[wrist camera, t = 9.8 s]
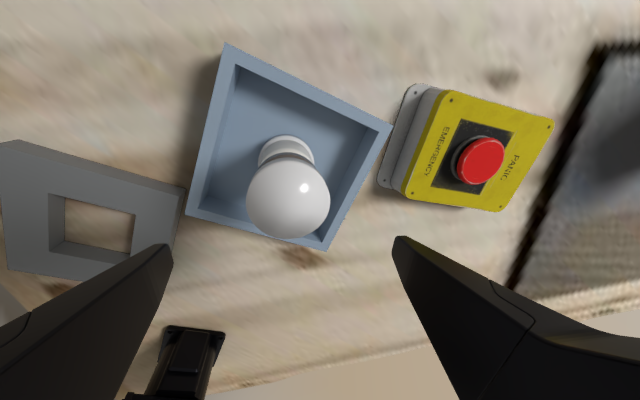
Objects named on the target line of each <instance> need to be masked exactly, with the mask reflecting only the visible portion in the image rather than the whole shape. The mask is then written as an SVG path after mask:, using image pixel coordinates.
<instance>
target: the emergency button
mask: <svg viewBox="0 0 640 400" xmlns="http://www.w3.org/2000/svg"><path fill="white" fill-rule="evenodd" d="M554 128H555V122H554V121H553V120H552V119H550V118H546V117H543V116H539V115H536V114H533V113H529V112H526V111H522V110H519V109H516V108H512V107H509V106H505V105H502V104H499V103H495V102H492V101H488V100H485V99H481V98H478V97H475V96H471V95H468V94H464V93H461V92H458V91H454V90H445V89H440V88H437V87H433V86H430V85H426V84H414V85H412V86H411V87H409V89H408V90H407V92H406V94H405V97H404V100H403V103H402V106H401V109H400V112H399V114H398V117H397V120H396V123H395V126H394V129H393V132H392V135H391V138H390V141H389V143H388V146H387V149H386V152H385V155H384V158H383V161H382V164H381V167H380V170H379V173H378V175H377V182H378V184H379V185H380V186H382V187H384V188H388V189H395V190H397V191H398V192H400V193H401V194H402V195H404V196H406V197H407V198H409V199H413V200H420V201H426V202H433V203H439V204H446V205H452V206H458V207H465V208H471V209H478V210H484V211H491V212H500V211H501V210H503V209H504V208H505V207H506V206H507V204H508V203H509V201H510V199H511V198H512V196H513V195H514V193H515V191H516V190H517V188H518V187H519V185H520V183H521V182H522V180H523V179H524V177H525V175H526V174H527V172H528V171H529V169H530V167H531V166H532V164H533V163H534V161H535V159H536V158H537V156H538V155H539V153H540V151H541V150H542V148H543V147H544V145H545V143H546V142H547V140H548V139H549V137H550V135H551V134H552V132H553V130H554Z"/></svg>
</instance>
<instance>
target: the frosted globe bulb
mask: <svg viewBox="0 0 640 400" xmlns="http://www.w3.org/2000/svg"><path fill="white" fill-rule="evenodd" d="M329 208H330V194H329V190H328V188H327V185H326V183H325V181H324V179H323V177H322V175H321V174H320V172H319V171H318V170H317V169H316V167H315V166H314V158H313V155H312V152H311V150H310V148H309V146H308V145H307V144H306V143H305V142H304V141H303V140H302V139H301V138H299V137H297V136H294V135H290V134H280V135H277V136H274V137H272V138H271V139H269V140H268V141H267V142H266V143H265V144H264V145H263V147H262V149H261V152H260V155H259V158H258V170H257V172H256V173H255V174H254V176H253V178H252V180H251V182H250V185H249V188H248V192H247V195H246V209H247V213H248V216H249V218H250V219H251V221H252V222H253V224H254V225H255V226H256V227H257V228H258V229H259V230H261V231H262V232H264V233H265V234H267V235H269V236H272V237H275V238H280V239H295V238H300V237H303V236H306V235H308V234H310V233H311V232H313V231H315V230H316V229H317V228H318V227H319V226H320V225H321V224H322V223H323V222H324V220H325V218H326V217H327V215H328V212H329Z"/></svg>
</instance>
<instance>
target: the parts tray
mask: <svg viewBox="0 0 640 400" xmlns="http://www.w3.org/2000/svg"><path fill="white" fill-rule="evenodd" d="M392 128H393V125H391V124H389V123H387V122H385V121H383V120H381V119H379V118H377V117H375V116H373V115H371V114H369V113H367V112H365V111H363V110H361V109H359V108H357V107H355V106H353V105H351V104H349V103H347V102H345V101H343V100H341V99H339V98H336V97H334V96H332V95H330V94H328V93H326V92H324V91H322V90H320V89H318V88H316V87H314V86H312V85H310V84H308V83H306V82H304V81H302V80H300V79H298V78H296V77H294V76H292V75H290V74H288V73H286V72H284V71H282V70H280V69H278V68H276V67H274V66H272V65H270V64H268V63H266V62H264V61H262V60H260V59H258V58H256V57H254V56H252V55H250V54H248V53H246V52H244V51H242V50H240V49H238V48H236V47H234V46H232V45H230V44H228V43H226V42H225V43H224V47H223V51H222V56H221V60H220V64H219V69H218V73H217V77H216V81H215V86H214V90H213V94H212V98H211V103H210V107H209V111H208V115H207V120H206V124H205V128H204V133H203V137H202V141H201V145H200V150H199V154H198V158H197V162H196V167H195V171H194V175H193V179H192V184H191V188H190V192H189V197H188V201H187V205H186V209H185V214H184V215H188V216H192V217H196V218H199V219H203V220H207V221H211V222H215V223H218V224H222V225H226V226H230V227H234V228H237V229H241V230H245V231H249V232H253V233H256V234H260V235H264V236H268V237H272V236H269V235H267V234H265V233H264V232H262V231H261V230H259V229H258V228H257V227H256V226H255V225H254V224H253V222H252V221H251V219H250V218H249V216H248V213H247V209H246V195H247V192H248V188H249V185H250V182H251V180H252V178H253V176H254V174H255V173H256V172H257V170H258V158H259V155H260V152H261V149H262V147H263V145H264V144H265V143H266V142H267V141H268V140H269V139H271V138H272V137H274V136H277V135H280V134H290V135H294V136H297V137H299V138H301V139H302V140H303V141H304V142H305V143H306V144H307V145H308V146H309V148H310V150H311V152H312V155H313V158H314V166H315V167H316V169H317V170H318V171H319V172H320V174H321V175H322V177H323V179H324V181H325V183H326V185H327V188H328V190H329V194H330V208H329V212H328V215H327V217H326V218H325V220H324V222H323V223H322V224H321V225H320V226H319V227H318V228H317V229H316V230H315V231H313V232H311V233H310V234H308V235H306V236H303V237H300V238H295V239H280V238H275V237H272V238H275V239H279V240H283V241H287V242H291V243H295V244H298V245H302V246H306V247H310V248H314V249H317V250H321V251H325V252H326V251H327V250H328V248H329V246H330V244H331V242H332V240H333V238H334V237H335V235H336V233H337V231H338V229H339V227H340V225H341V223H342V222H343V220H344V218H345V216H346V214H347V212H348V210H349V209H350V207H351V205H352V203H353V201H354V199H355V197H356V195H357V194H358V192H359V190H360V188H361V186H362V184H363V182H364V181H365V179H366V177H367V175H368V173H369V171H370V169H371V167H372V166H373V164H374V162H375V160H376V158H377V156H378V154H379V153H380V151H381V149H382V147H383V145H384V143H385V141H386V139H387V138H388V136H389V134H390V132H391V130H392Z"/></svg>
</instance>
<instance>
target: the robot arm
mask: <svg viewBox="0 0 640 400" xmlns="http://www.w3.org/2000/svg"><path fill="white" fill-rule="evenodd" d="M392 258H393V260H394V263H395V266H396V268H397V271H398V274H399V276H400V279H401V282H402V284H403V287H404V289H405V291H406V293H407V295H408V297H409V299H410V301H411V303H412V305H413V307H414V309H415V311H416V313H417V315H418V317H419V319H420V321H421V323H422V325H423V327H424V329H425V331H426V333H427V335H428V337H429V339H430V341H431V343H432V345H433V347H434V349H435V351H436V353H437V355H438V357H439V360H440V361H441V364H442V366H443V367H444V370H445V372H446V374H447V375H448V378H449V380H450V382H451V384H452V385H453V387H454V390H455V392H456V394H457V395H458V397H459V400H640V338H634V337H627V336H620V335H615V334H610V333H606V332H603V331H599V330H596V329H594V328H591V327H588V326H586V325H584V324H582V323H579V322H577V321H575V320H573V319H571V318H569V317H566V316H564V315H562V314H560V313H558V312H556V311H554V310H551V309H549V308H547V307H545V306H543V305H541V304H538V303H536V302H534V301H532V300H530V299H528V298H526V297H524V296H522V295H520V294H517V293H515V292H513V291H511V290H509V289H508V288H506V287H504V286H502V285H500V284H498V283H496V282H494V281H492V280H488V278H486V277H484V276H482V275H480V274H478V273H476V272H475V271H473V270H471V269H469V268H467V267H465V266H463V265H461V264H459V263H457V262H455V261H453V260H451V259H450V258H448V257H446V256H444V255H442V254H440V253H438V252H436V251H434V250H432V249H430V248H428V247H426V246H425V245H423V244H421V243H419V242H417V241H415V240H413V239H411V238H409V237H407V236H397V237H396V238H395V240H394V244H393V248H392ZM173 264H174V262H173V257H172V253H171V250H170V246H169V245H168V244H167V243H157V244H153V245H151V246H150V247H148V248H146V249H144V250H142V251H140V252H139V253H137V254H135V255H133V256H131V257H129V258H127V259H126V260H124V261H122V262H120V263H118V264H116V265H114V266H113V267H111V268H109V269H107V270H105V271H103V272H102V273H100V274H98V275H96V276H94V277H92V278H90V279H89V280H87V281H85V282H83V283H81V284H79V285H77V286H76V287H74V288H72V289H70V290H68V291H66V292H65V293H63V294H61V295H59V296H57V297H55V298H53V299H52V300H50V301H48V302H46V303H44V304H42V305H40V306H39V307H37V308H35V309H33V310H32V312H27V313H26V314H24V315H22V316H20V317H18V318H16V319H15V320H13V321H11V322H9V323H7V324H5V325H3V326H1V327H0V400H114V398H115V396H116V394H117V392H118V390H119V388H120V386H121V384H122V382H123V380H124V378H125V376H126V373H127V371H128V369H129V367H130V365H131V363H132V361H133V359H134V357H135V355H136V353H137V351H138V349H139V347H140V345H141V342H142V340H143V338H144V336H145V334H146V332H147V330H148V328H149V326H150V324H151V322H152V320H153V318H154V316H155V314H156V311H157V309H158V307H159V305H160V302H161V300H162V297H163V294H164V291H165V288H166V285H167V283H168V280H169V277H170V274H171V271H172V268H173ZM225 336H226V334H225V333H223V332H215V331H207V330H199V329H191V328H183V327H175V326H169V327H167V329H166V331H165V334H164V338H163V341H162V345H161V349H160V353H159V357H158V364H157V366H156V368H155V371H154V373H153V375H152V377H151V379H150V382H149V384H148V386H147V388H146V391H145V393H144V395H142V394H134V392H128V393H127V395H126V397H125V399H122V400H204V398H205V394H206V390H207V386H208V382H209V378H210V374H211V370H212V367H213V366H214V364H215V362H216V359H217V357H218V355H219V352H220V350H221V347H222V345H223V342H224V340H225Z"/></svg>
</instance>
